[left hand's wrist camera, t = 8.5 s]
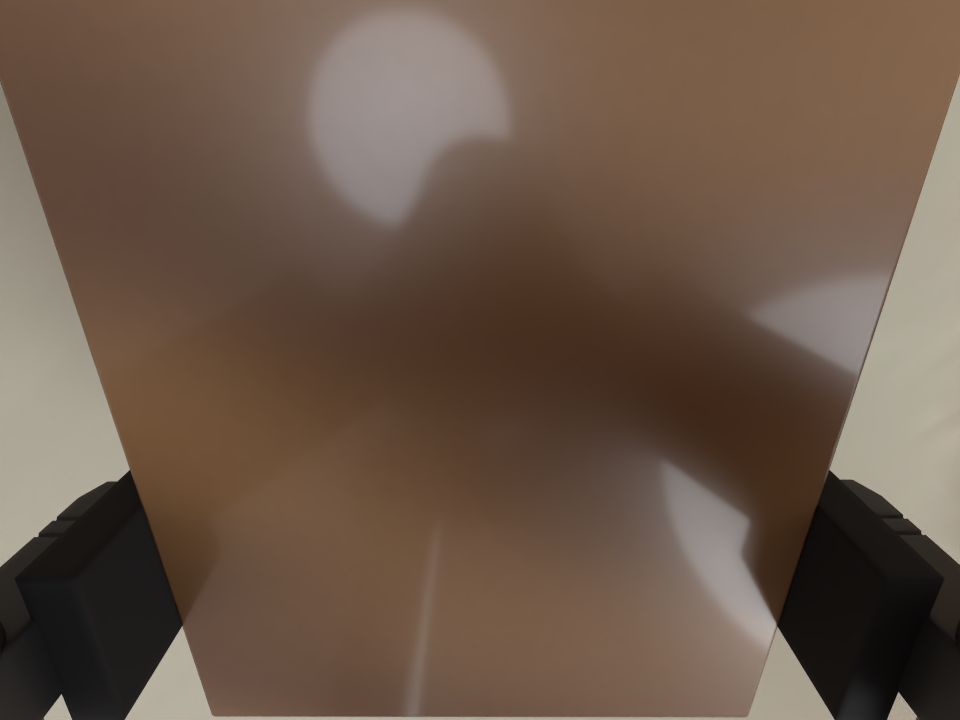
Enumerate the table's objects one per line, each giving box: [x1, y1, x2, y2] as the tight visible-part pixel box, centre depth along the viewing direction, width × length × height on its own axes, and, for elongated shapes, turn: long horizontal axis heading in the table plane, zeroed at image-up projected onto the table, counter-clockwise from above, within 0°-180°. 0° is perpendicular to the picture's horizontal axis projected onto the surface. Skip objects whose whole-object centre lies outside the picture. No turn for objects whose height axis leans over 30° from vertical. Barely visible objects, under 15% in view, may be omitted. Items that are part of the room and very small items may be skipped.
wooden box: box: [0, 0, 960, 717], centre depth 11 cm, size 18×10×8 cm, turn 0°
